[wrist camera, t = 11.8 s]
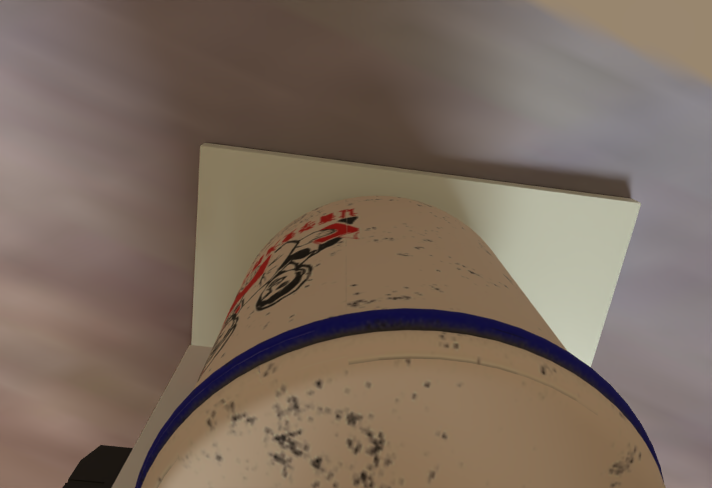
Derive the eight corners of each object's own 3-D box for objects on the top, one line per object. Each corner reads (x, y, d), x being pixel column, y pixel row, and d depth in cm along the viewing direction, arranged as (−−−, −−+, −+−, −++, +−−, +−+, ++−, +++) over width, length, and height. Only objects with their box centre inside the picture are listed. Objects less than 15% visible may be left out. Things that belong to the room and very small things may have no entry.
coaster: (632, 198, 18) (641, 203, 18) (532, 527, 23) (537, 540, 22) (204, 142, 17) (200, 145, 17) (188, 495, 22) (184, 506, 21)
